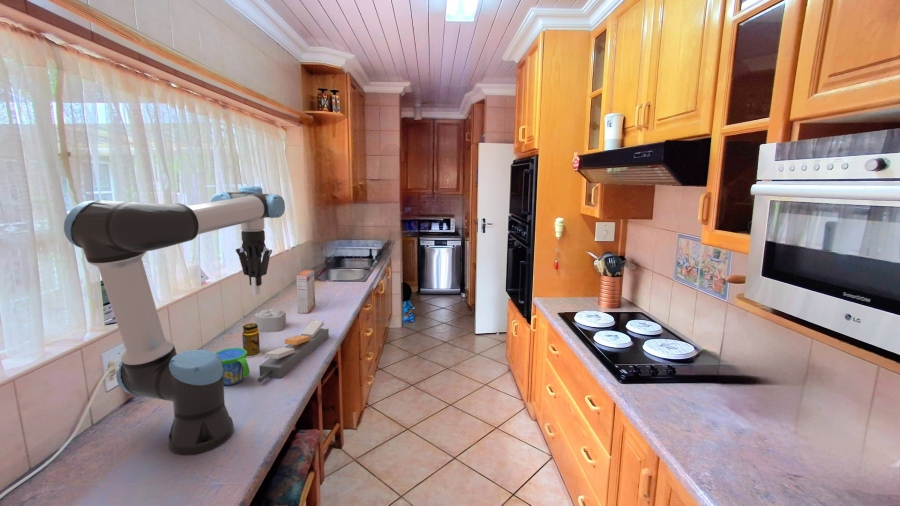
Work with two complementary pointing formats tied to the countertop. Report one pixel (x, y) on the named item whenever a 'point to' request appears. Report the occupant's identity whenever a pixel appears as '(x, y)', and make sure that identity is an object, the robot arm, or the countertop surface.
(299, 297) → the cracker box
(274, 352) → the rocker
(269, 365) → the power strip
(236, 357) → the snack cup
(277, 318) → the lumpy-topped squat cylinder
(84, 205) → the robot arm
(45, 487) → the countertop surface
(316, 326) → the white flat slab
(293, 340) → the rocker
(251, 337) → the condiment
